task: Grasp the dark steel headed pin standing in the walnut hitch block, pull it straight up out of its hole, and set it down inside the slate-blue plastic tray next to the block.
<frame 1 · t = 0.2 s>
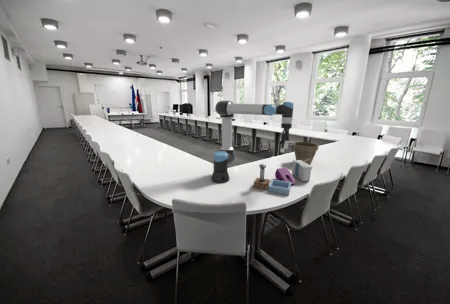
hand: (284, 150, 153), 28 cm above the table, fingers open, 13 cm apart
hitch block: (261, 186, 154), on the table
parts tray: (279, 189, 149), on the table
mounting bracket: (285, 181, 165), on the table
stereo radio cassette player: (300, 177, 174), on the table
plant pot: (303, 163, 215), on the table
steel pin: (262, 176, 152), in the hitch block
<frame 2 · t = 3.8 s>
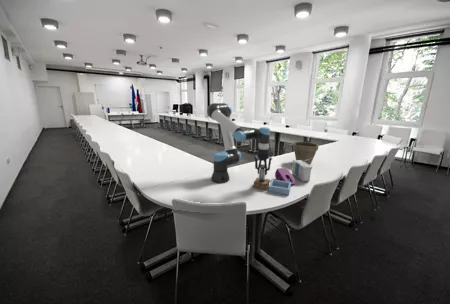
hand: (261, 178, 152), 7 cm above the table, fingers closed on steel pin, 3 cm apart
steel pin: (262, 176, 152), in the hitch block, touching gripper
everything else where it was.
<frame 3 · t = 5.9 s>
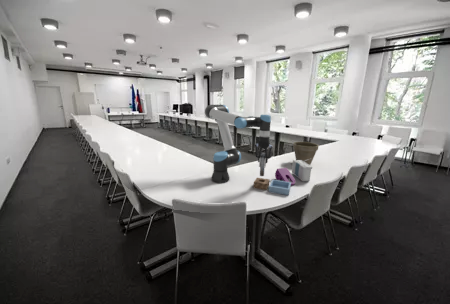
hand: (262, 166, 150), 16 cm above the table, fingers closed on steel pin, 3 cm apart
steel pin: (262, 164, 150), point 18 cm above the table, touching gripper
everything else where it was.
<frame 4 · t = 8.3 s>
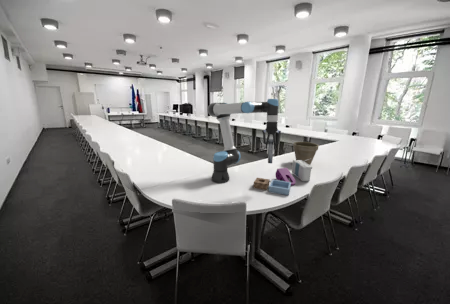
hand: (270, 153, 145), 27 cm above the table, fingers closed on steel pin, 3 cm apart
steel pin: (270, 151, 145), point 29 cm above the table, touching gripper
everything else where it was.
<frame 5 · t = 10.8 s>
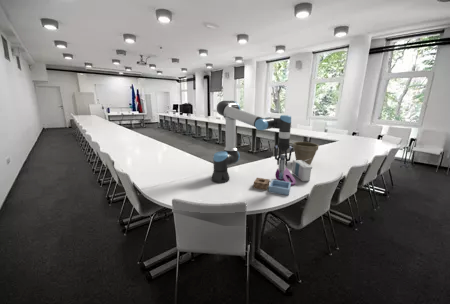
hand: (281, 169, 145), 16 cm above the table, fingers closed on steel pin, 3 cm apart
steel pin: (281, 167, 144), point 18 cm above the table, touching gripper
everything else where it was.
when the fingers open (10 cm above the table, at t = 12.7 s): steel pin drops 1 cm, resting on parts tray.
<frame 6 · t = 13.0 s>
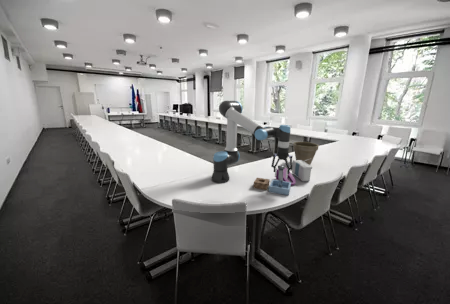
hand: (280, 177, 146), 10 cm above the table, fingers open, 7 cm apart
steel pin: (280, 177, 146), in the parts tray, point 10 cm above the table
everything else where it was.
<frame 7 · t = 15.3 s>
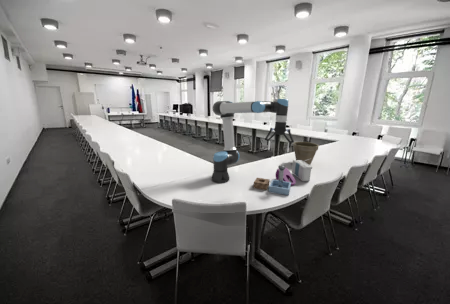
hand: (278, 150, 144), 29 cm above the table, fingers open, 13 cm apart
nothing on the table moved.
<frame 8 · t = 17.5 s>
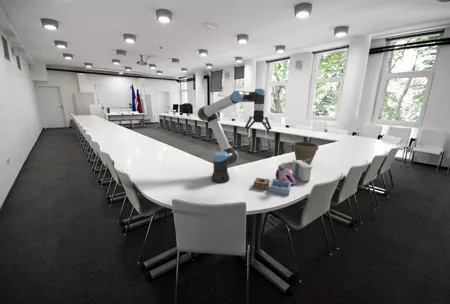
hand: (257, 137, 155), 37 cm above the table, fingers open, 13 cm apart
nothing on the table moved.
at the end: steel pin inside the target area on the parts tray (0.0 cm from its centre), point 9.8 cm above the parts tray's base; the gripper is holding nothing; steel pin moved 14.1 cm from its start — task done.
